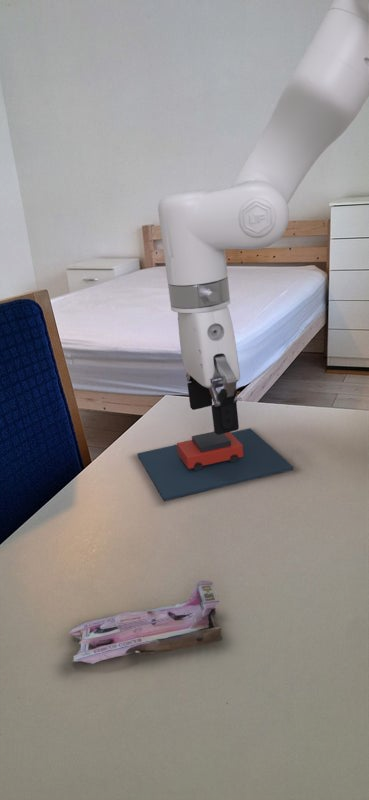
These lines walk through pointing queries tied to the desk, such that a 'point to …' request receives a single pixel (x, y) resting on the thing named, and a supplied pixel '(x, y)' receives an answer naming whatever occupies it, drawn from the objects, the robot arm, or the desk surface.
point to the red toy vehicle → (209, 450)
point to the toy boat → (151, 628)
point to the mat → (211, 467)
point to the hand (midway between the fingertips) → (213, 418)
